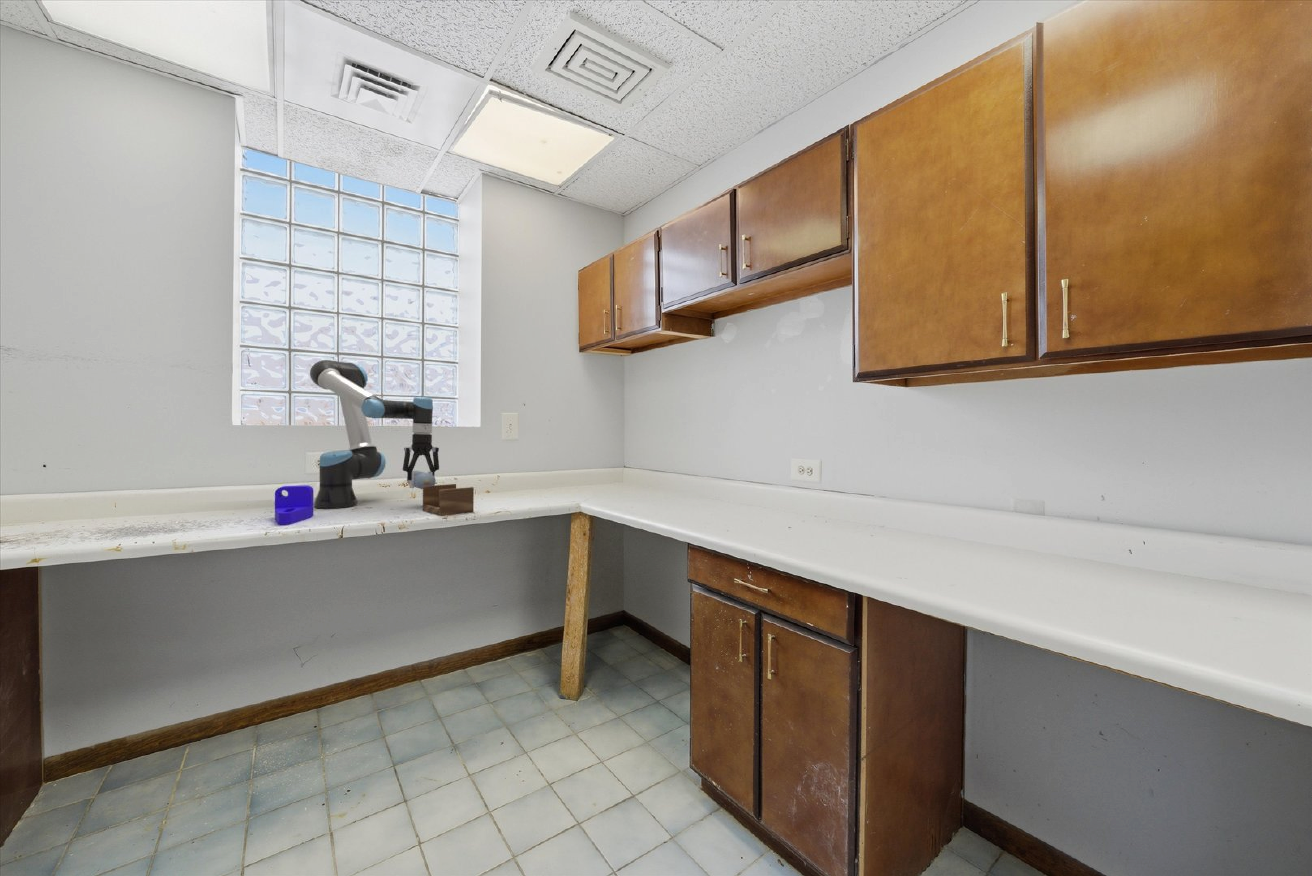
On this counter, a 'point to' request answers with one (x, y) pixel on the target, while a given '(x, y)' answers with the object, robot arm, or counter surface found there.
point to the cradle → (447, 499)
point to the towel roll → (423, 479)
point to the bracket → (293, 504)
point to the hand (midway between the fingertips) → (420, 487)
